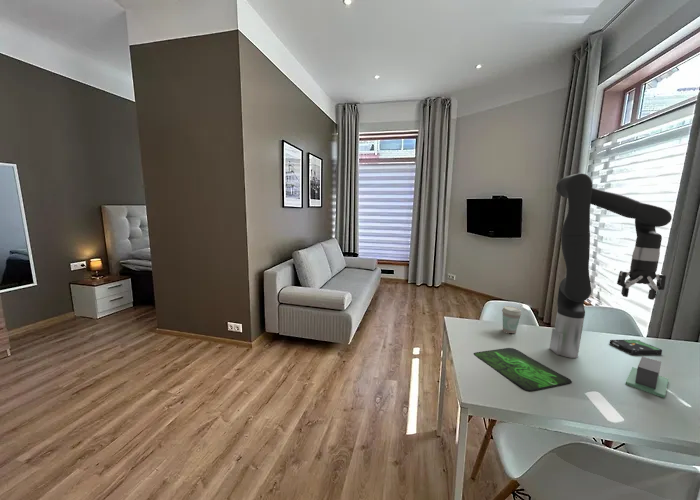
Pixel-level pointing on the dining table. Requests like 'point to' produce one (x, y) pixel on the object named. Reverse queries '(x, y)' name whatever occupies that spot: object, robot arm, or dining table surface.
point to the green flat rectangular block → (658, 391)
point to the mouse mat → (522, 369)
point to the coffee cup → (510, 318)
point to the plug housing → (648, 372)
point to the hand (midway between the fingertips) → (637, 297)
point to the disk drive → (635, 347)
